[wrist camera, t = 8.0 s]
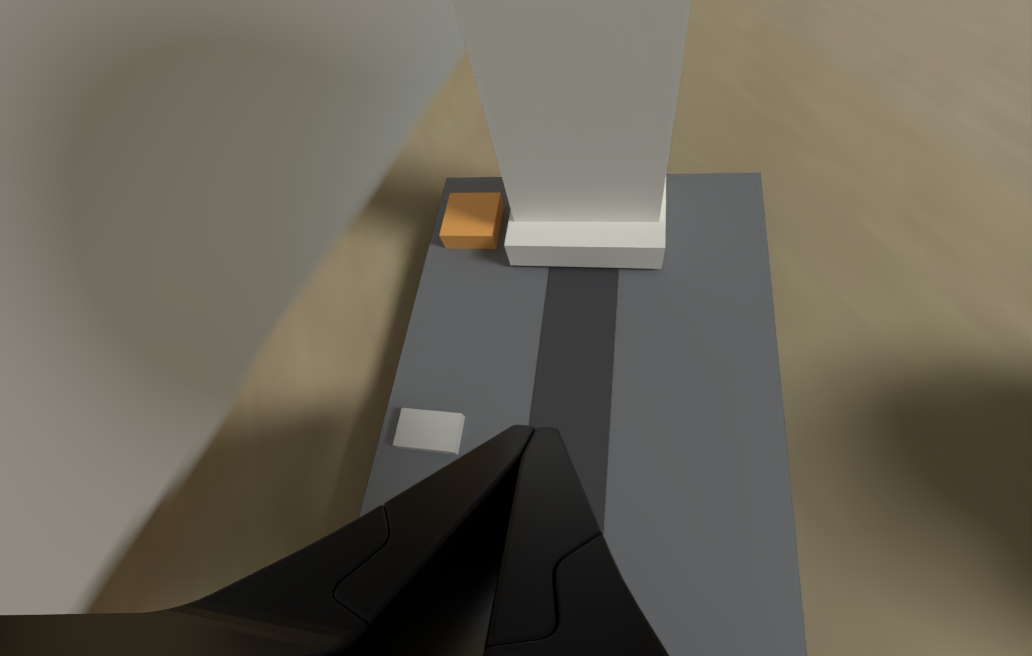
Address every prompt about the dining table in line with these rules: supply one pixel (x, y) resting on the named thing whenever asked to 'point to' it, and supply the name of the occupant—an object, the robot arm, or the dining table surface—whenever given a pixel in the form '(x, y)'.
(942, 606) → the dining table surface
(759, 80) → the dining table surface
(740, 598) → the switch panel
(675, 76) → the tab
